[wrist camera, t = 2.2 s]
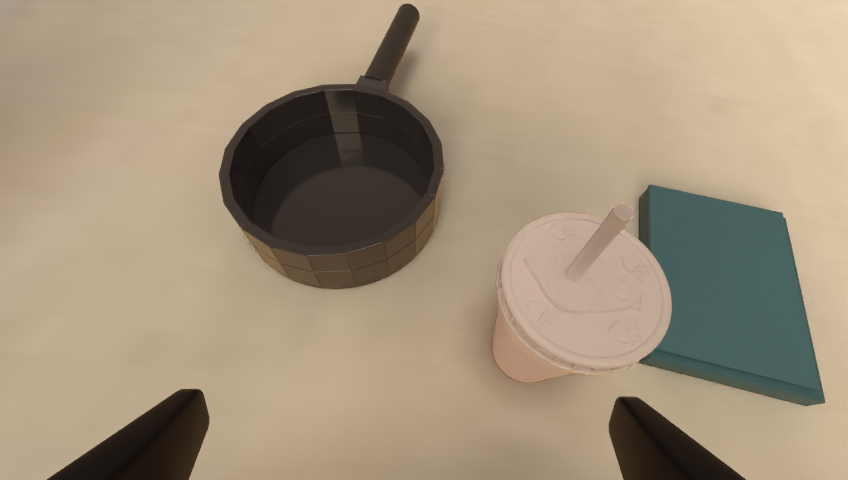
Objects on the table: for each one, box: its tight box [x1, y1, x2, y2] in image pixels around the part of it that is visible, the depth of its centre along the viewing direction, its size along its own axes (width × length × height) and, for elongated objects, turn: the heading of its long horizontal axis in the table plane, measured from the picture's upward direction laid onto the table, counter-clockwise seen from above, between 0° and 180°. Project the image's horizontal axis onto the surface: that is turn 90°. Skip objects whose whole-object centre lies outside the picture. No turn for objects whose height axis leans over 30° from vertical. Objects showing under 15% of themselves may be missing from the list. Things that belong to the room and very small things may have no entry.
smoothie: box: [492, 203, 672, 383], centre depth 17 cm, size 6×6×14 cm
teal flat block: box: [639, 185, 825, 406], centre depth 25 cm, size 12×9×2 cm
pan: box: [219, 84, 444, 289], centre depth 26 cm, size 13×13×4 cm
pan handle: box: [356, 4, 419, 92], centre depth 31 cm, size 10×2×2 cm, turn 165°
